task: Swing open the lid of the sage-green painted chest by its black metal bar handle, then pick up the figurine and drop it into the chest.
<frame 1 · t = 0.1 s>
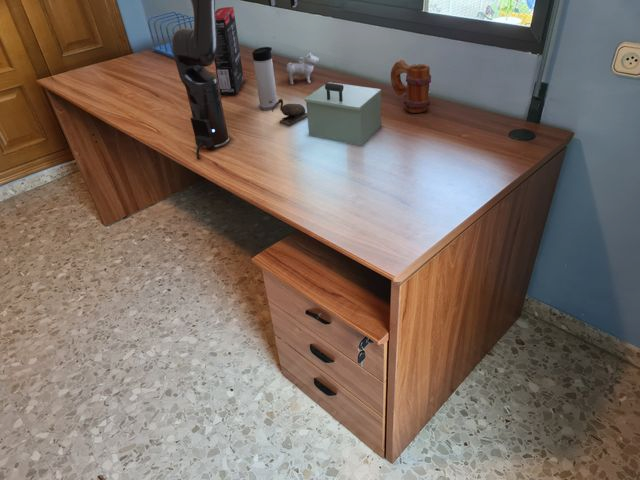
hand: (283, 6, 160), 29 cm above the table, tool pointing down, fingers open, 8 cm apart
chest: (345, 131, 148), on the table
mug: (409, 109, 158), on the table
file sorter: (182, 51, 229), on the table
dog figurine: (303, 81, 186), on the table
graphics card box: (233, 88, 185), on the table
travel mug: (269, 107, 168), on the table
lid: (342, 87, 139), point 14 cm above the table, hinge at 0.0°
figurine: (290, 122, 156), on the table
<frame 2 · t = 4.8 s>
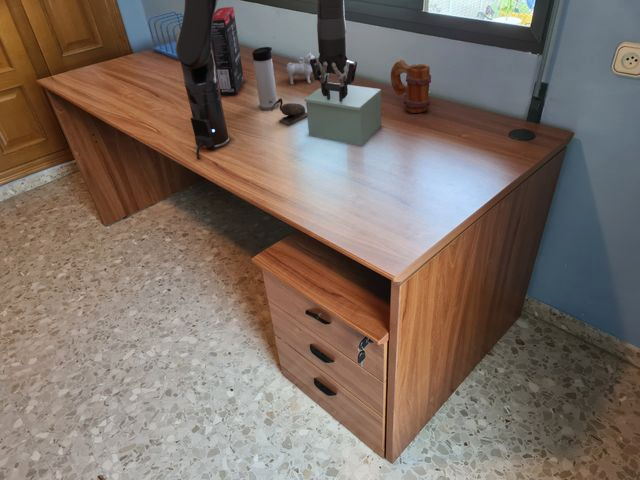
hand: (334, 96, 136), 13 cm above the table, tool pointing down, fingers closed on lid, 5 cm apart
lid: (342, 87, 139), point 14 cm above the table, hinge at 0.0°, touching gripper
everything else where it was.
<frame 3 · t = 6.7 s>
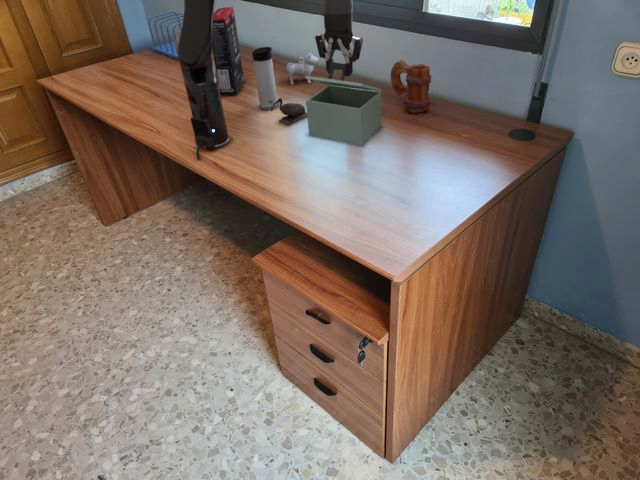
hand: (339, 74, 135), 18 cm above the table, tool pointing down, fingers closed on lid, 5 cm apart
lid: (345, 75, 138), point 17 cm above the table, hinge at 25.6°, touching gripper
everything else where it was.
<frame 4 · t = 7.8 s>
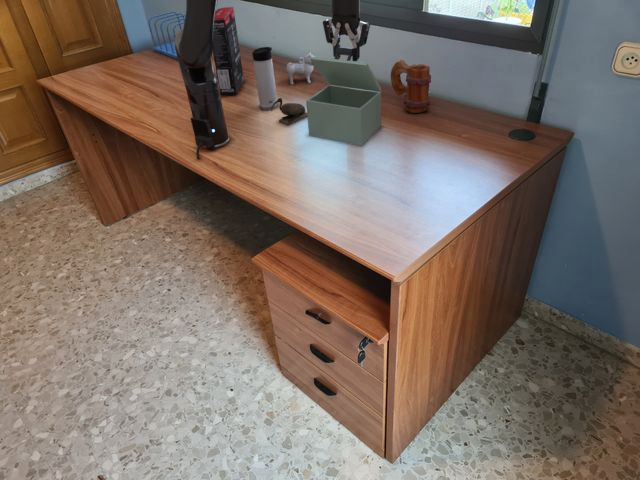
hand: (346, 59, 137), 21 cm above the table, tool pointing down, fingers closed on lid, 5 cm apart
lid: (348, 66, 139), point 19 cm above the table, hinge at 47.9°, touching gripper
everything else where it was.
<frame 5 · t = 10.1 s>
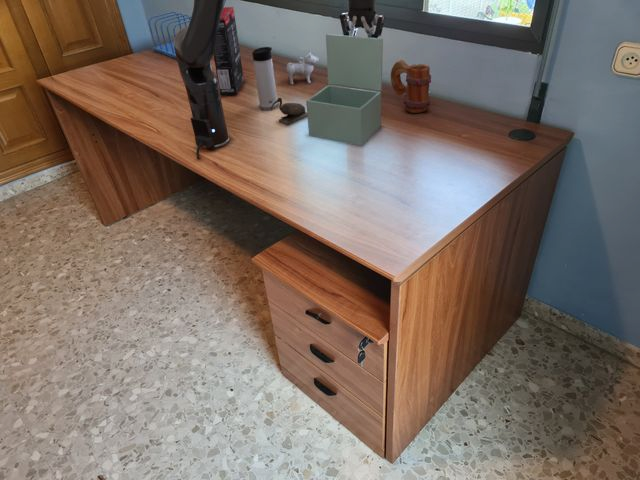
hand: (362, 51, 144), 21 cm above the table, tool pointing down, fingers closed on lid, 5 cm apart
lid: (357, 60, 143), point 19 cm above the table, hinge at 91.0°, touching gripper
everything else where it was.
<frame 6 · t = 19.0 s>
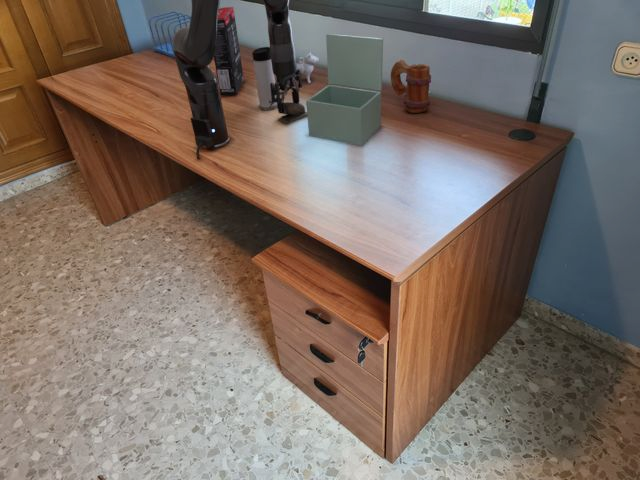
hand: (289, 107, 154), 5 cm above the table, tool pointing down, fingers open, 8 cm apart
lid: (357, 60, 143), point 19 cm above the table, hinge at 91.8°
figurine: (288, 120, 158), on the table, touching gripper
everything else where it was.
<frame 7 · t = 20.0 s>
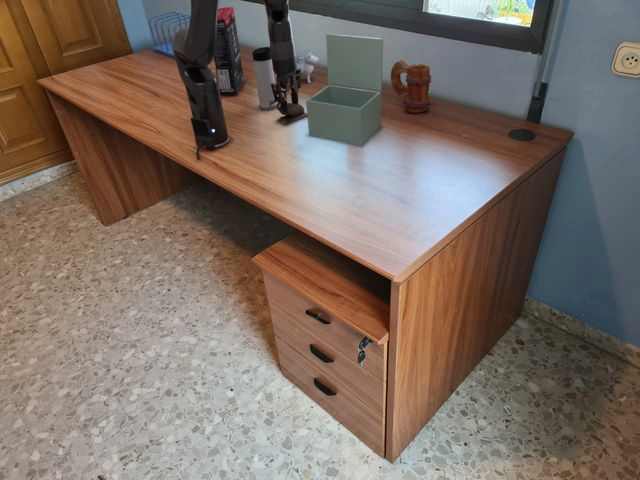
hand: (290, 107, 154), 5 cm above the table, tool pointing down, fingers closed on figurine, 5 cm apart
figurine: (288, 121, 157), on the table, touching gripper
everything else where it was.
when the fingers open (10 cm above the table, at t = 26.5 s): figurine drops 2 cm, resting on chest.
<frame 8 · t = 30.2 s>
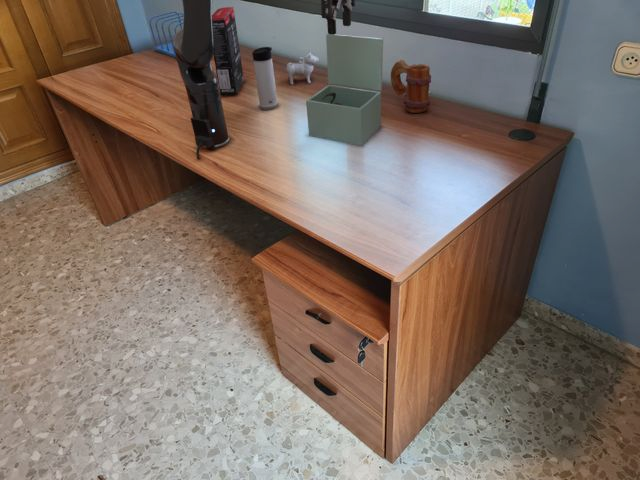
hand: (339, 29, 129), 30 cm above the table, tool pointing down, fingers open, 8 cm apart
figurine: (335, 123, 144), point 4 cm above the table, touching chest
everything else where it was.
at the end: lid at +92° (first picture: +0°); figurine inside the target area in the chest (3.6 cm from its centre), point 3.5 cm above the chest's base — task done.
